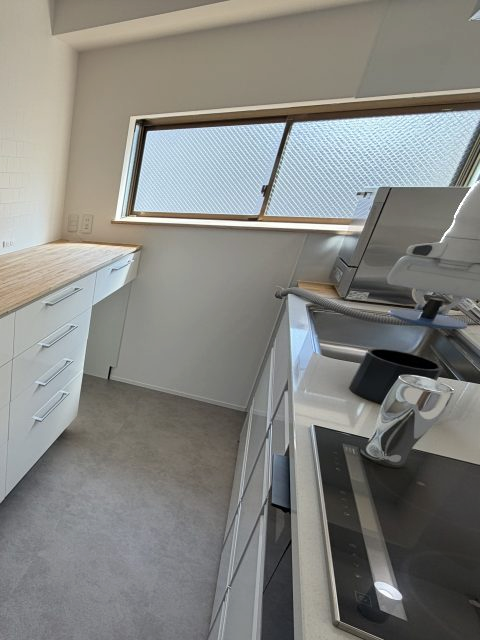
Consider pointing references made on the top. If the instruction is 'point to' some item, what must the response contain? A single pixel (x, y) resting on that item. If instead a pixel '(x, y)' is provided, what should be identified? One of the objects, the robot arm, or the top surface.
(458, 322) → the lid
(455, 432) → the top surface
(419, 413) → the beer glass
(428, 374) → the pot
